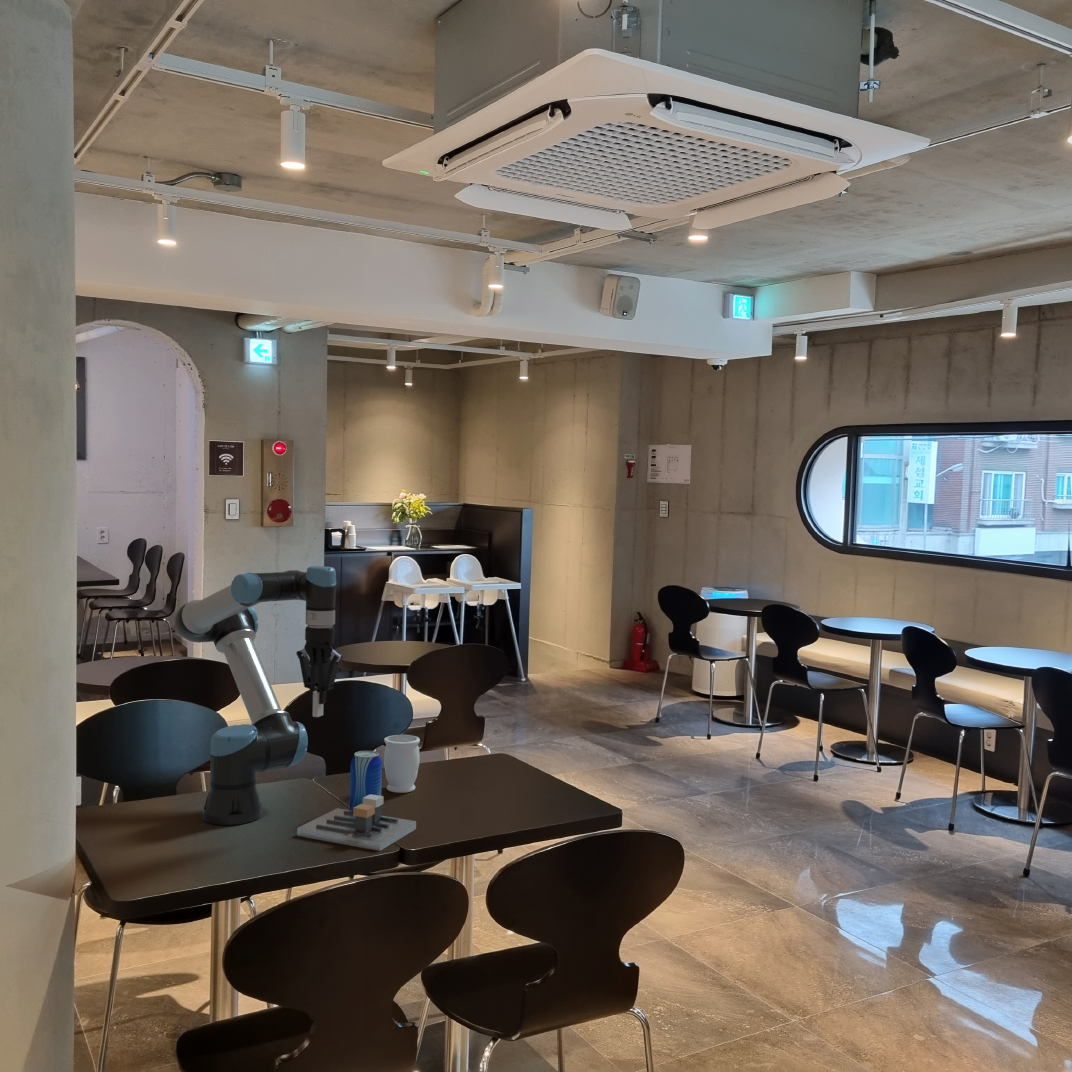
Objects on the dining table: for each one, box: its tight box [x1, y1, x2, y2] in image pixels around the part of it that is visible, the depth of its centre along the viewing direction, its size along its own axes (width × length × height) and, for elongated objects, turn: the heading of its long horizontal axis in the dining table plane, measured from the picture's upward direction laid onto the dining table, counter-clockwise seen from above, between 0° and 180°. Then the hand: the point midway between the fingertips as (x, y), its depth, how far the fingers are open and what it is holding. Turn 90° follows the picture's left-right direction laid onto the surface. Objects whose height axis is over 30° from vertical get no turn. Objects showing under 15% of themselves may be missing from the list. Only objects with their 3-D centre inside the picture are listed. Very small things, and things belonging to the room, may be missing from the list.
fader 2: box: [353, 804, 375, 833], centre depth 251 cm, size 4×4×6 cm
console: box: [296, 807, 417, 852], centre depth 257 cm, size 24×18×3 cm
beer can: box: [349, 750, 383, 811], centre depth 273 cm, size 8×8×16 cm
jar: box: [383, 734, 421, 794], centre depth 295 cm, size 11×10×15 cm
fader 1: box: [363, 794, 385, 822], centre depth 259 cm, size 4×4×6 cm
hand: (317, 715), depth 263 cm, fingers closed
